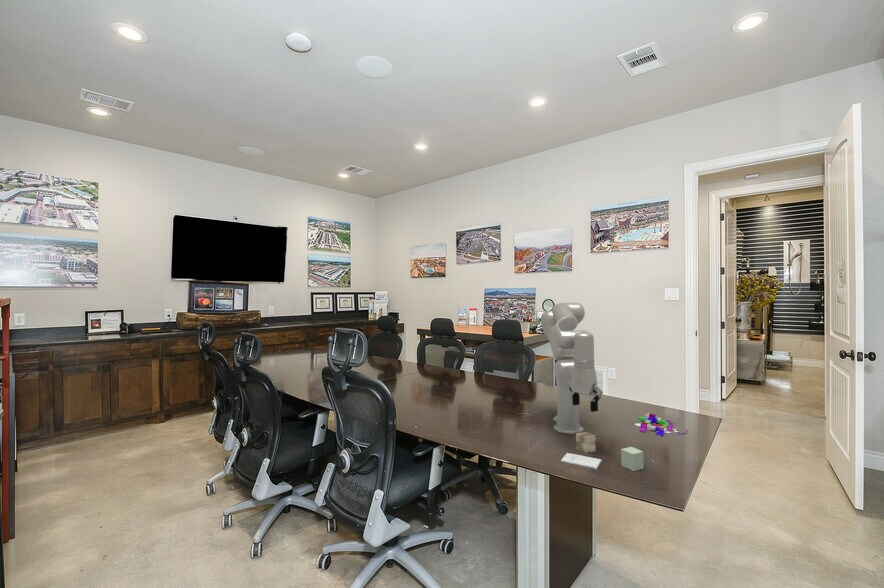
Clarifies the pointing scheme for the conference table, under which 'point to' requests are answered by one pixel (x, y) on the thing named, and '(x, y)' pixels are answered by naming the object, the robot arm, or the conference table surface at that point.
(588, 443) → the birch block
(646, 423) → the building block set
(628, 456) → the sage block
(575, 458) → the external hard drive
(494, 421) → the conference table surface
